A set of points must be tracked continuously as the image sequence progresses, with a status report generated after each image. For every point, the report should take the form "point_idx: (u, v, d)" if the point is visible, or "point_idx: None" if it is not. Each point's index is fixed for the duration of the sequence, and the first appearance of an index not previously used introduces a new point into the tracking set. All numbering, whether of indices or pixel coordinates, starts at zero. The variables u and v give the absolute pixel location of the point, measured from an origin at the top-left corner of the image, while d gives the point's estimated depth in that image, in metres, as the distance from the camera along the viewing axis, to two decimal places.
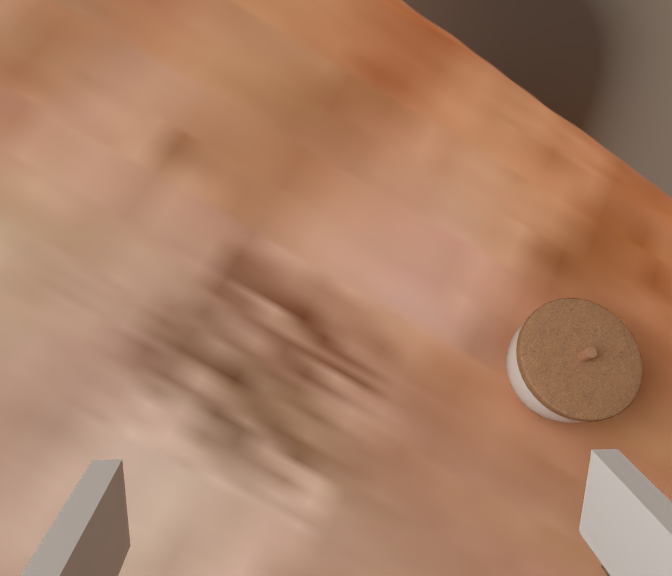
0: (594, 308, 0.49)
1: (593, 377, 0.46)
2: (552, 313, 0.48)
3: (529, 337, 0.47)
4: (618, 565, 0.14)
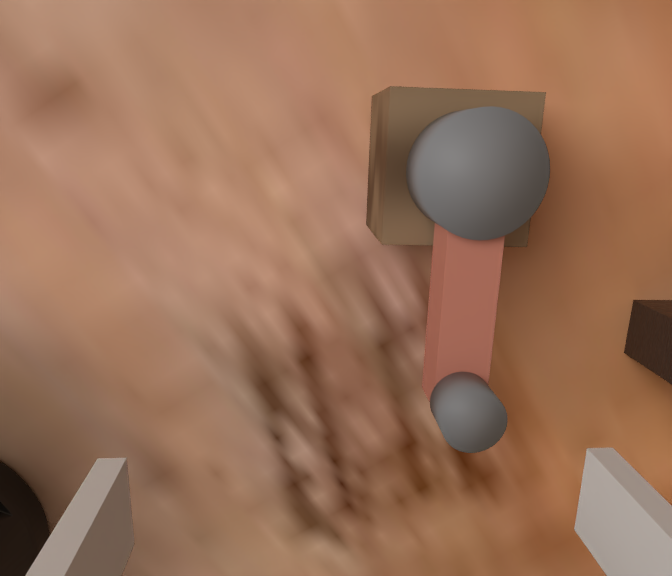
0: None
1: None
2: None
3: None
4: (613, 563, 0.14)
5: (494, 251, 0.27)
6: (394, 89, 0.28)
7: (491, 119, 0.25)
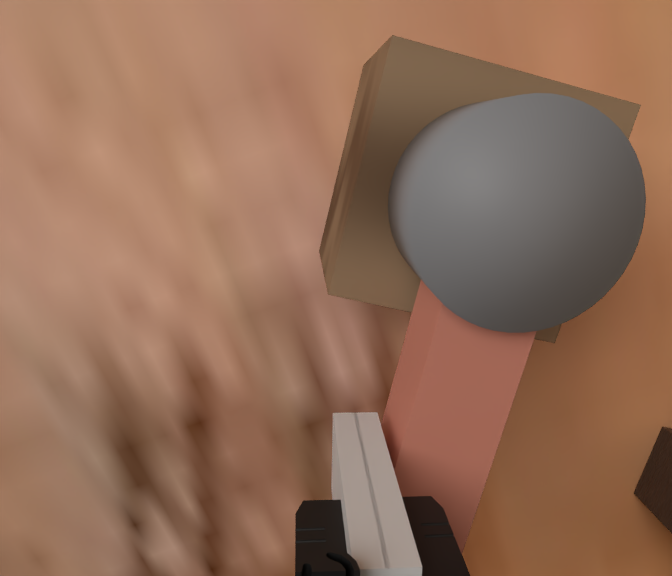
0: None
1: None
2: None
3: None
4: None
5: (514, 352, 0.15)
6: (398, 42, 0.16)
7: (561, 120, 0.13)
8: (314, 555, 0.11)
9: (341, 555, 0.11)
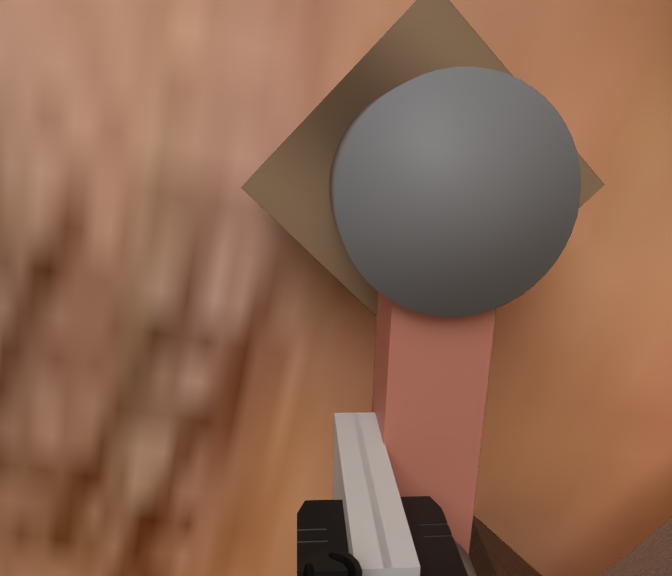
0: None
1: None
2: None
3: None
4: None
5: (477, 334, 0.15)
6: None
7: (470, 91, 0.13)
8: (316, 555, 0.11)
9: (343, 555, 0.11)
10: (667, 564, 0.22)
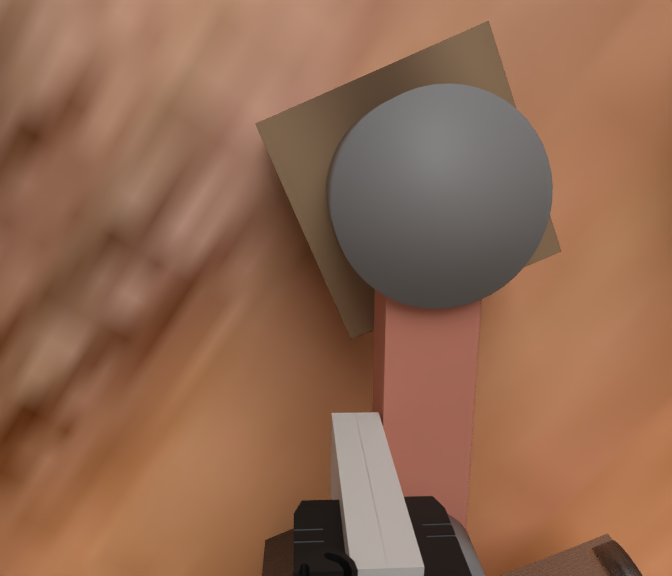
0: None
1: None
2: None
3: None
4: None
5: (465, 324, 0.16)
6: (486, 29, 0.17)
7: (447, 105, 0.14)
8: (312, 555, 0.11)
9: (339, 555, 0.11)
10: None
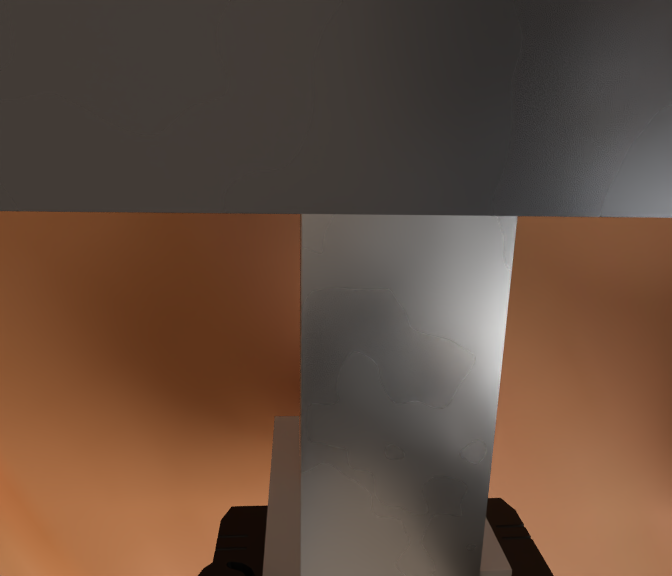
0: None
1: None
2: None
3: None
4: None
5: None
6: None
7: None
8: (214, 567, 0.10)
9: (242, 563, 0.10)
10: None
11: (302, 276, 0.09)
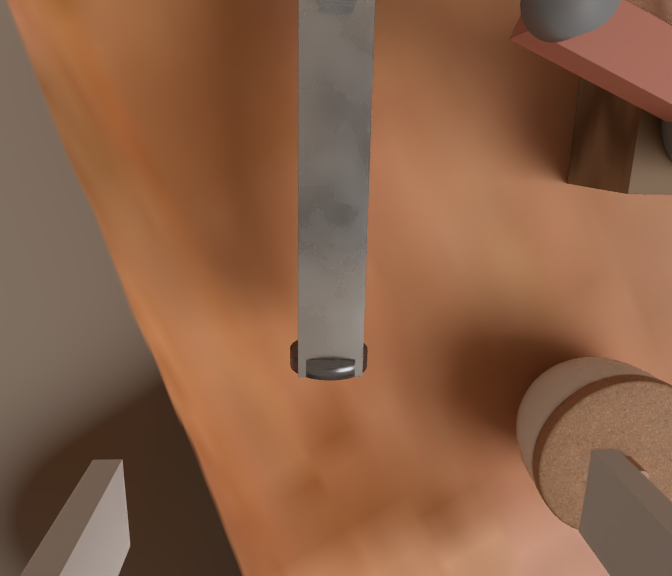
0: (560, 505, 0.34)
1: (637, 435, 0.33)
2: None
3: None
4: (618, 565, 0.14)
5: None
6: None
7: None
8: None
9: None
10: None
11: (298, 181, 0.27)
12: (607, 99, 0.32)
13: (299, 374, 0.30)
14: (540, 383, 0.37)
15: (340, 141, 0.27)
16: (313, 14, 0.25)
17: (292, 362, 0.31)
